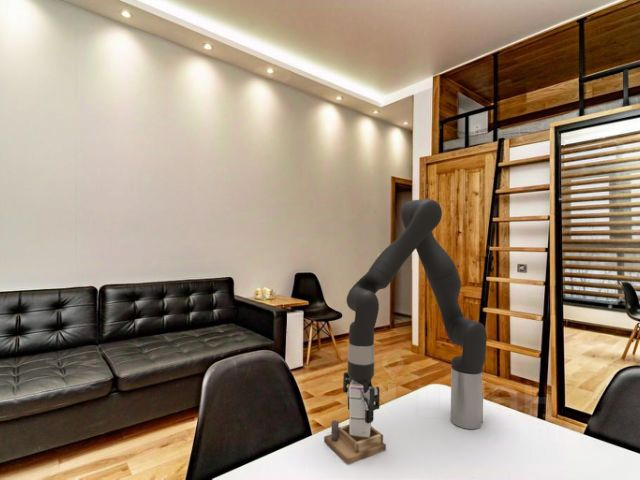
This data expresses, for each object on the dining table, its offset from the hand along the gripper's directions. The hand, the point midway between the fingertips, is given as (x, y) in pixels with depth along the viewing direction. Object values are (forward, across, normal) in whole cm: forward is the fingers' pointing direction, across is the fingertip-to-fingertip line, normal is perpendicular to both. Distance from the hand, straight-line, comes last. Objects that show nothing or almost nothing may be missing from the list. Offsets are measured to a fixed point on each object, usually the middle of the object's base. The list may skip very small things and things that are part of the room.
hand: (359, 415), depth 103 cm
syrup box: (+5, 0, 0) cm, 5 cm away
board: (+9, 0, +1) cm, 9 cm away
